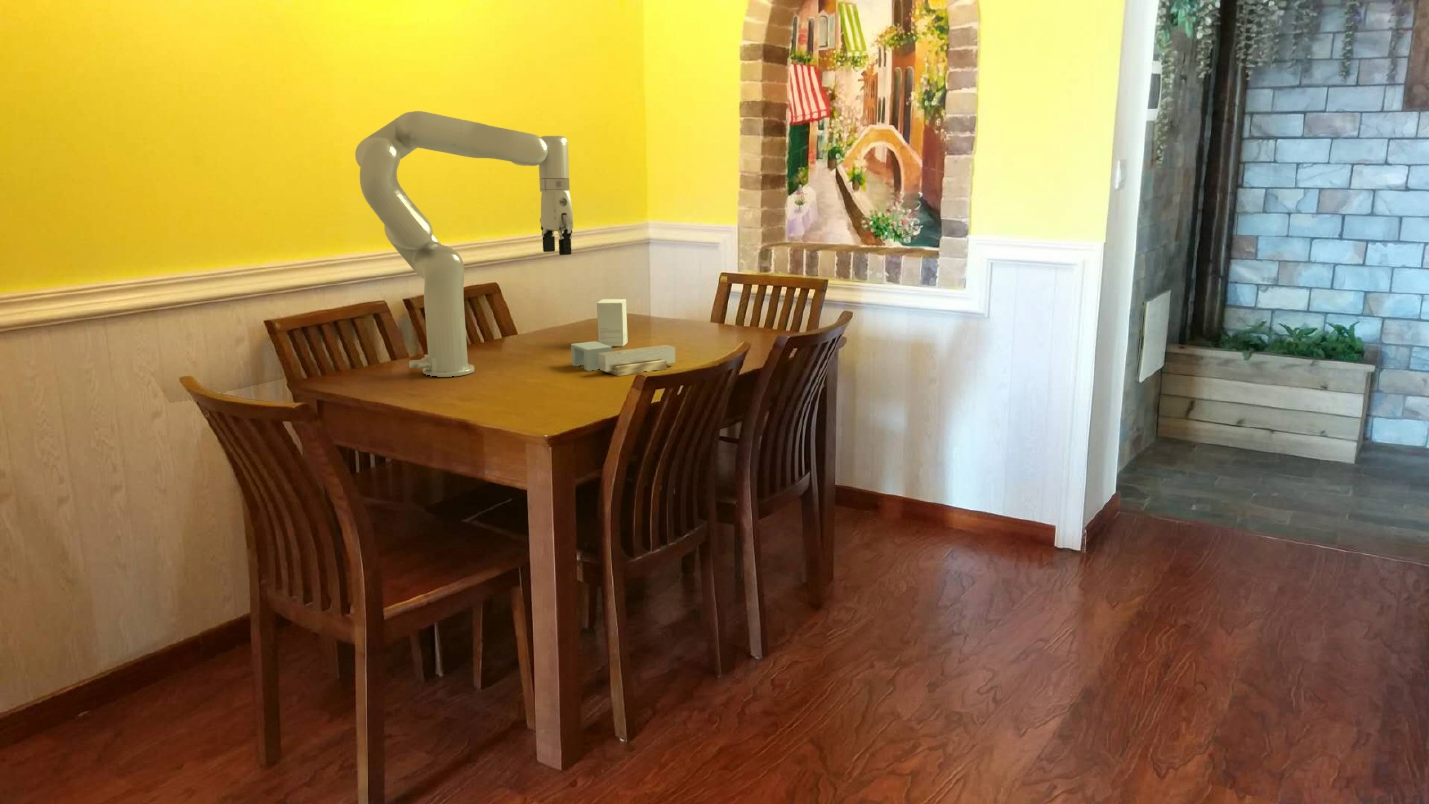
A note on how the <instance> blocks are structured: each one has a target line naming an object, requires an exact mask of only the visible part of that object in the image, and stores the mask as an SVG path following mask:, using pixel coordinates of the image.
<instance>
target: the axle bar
mask: <svg viewBox="0 0 1429 804" xmlns="http://www.w3.org/2000/svg"><path fill="white" fill-rule="evenodd" d="M660 360H666V364H672V363H673V364H674V363H676V347H675V346H672V345H670V344H662V345H655V346H654V345H653V346H646V347H638V348H630V349H629V348H628V349H622V350H612V351H611V352H603V353H598V369H600V370H601V371H602V372H603V371H604V372H606V373H608V372H607V371H614V370H615V366H622V365H630V364H637V363H645V362H652V361H660Z"/></svg>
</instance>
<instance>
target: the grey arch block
mask: <svg viewBox="0 0 1429 804" xmlns="http://www.w3.org/2000/svg"><path fill="white" fill-rule="evenodd" d="M611 351H613V346H608V345H605V344H602V343H599V341H587V342H577V343H576V342H575V343H571V344H570V355H571V357H570V358H571V366H573V367H579V366H580V365H581V366H584V370H585V371H586V370H587V371H586V372H592V370H594V371H599V370H598V353H603V352H611Z"/></svg>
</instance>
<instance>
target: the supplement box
mask: <svg viewBox="0 0 1429 804" xmlns="http://www.w3.org/2000/svg"><path fill="white" fill-rule="evenodd" d="M596 311H597V334H598V342H599V343H602V344H605V345H608V346H611V347H625V345H627V343H628V342H629V341H628V320H627V319H628V317H627V315H628V314H627V299H626V298H623V299H621V298H619V299H618V298H602V299H600V300H599V301H598V302H596Z"/></svg>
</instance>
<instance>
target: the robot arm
mask: <svg viewBox="0 0 1429 804" xmlns="http://www.w3.org/2000/svg"><path fill="white" fill-rule="evenodd" d="M416 149H424V150H428V151H434V152H440V153H445V154H450V155H456V156H460V157H467V158H473V159H494V160H499V161H506V162H511V163H512V164H514V165H516V166H523V167H524V166H525V167H526V166H530V167H536V166H538V177H539V181H538V182H539V192H541V195H540V196H541V198H540V218H539V223H540V230H541V236H542V251H543V252H544V253H550V252H555V251H556V241H555V240H556V238H555V235H554V233H555V232H557V234H558V236H559V239H558V253H559V256H568V255H572V234H573V229H574V216H573V215H574V214H573V206H572V205H573V204H572V200H571V199H572V197H571V194H570V193H571V192H570V168H569V167H570V165H569V163H570V161H569V160H570V159H569V143H568V139H567V138H566V137H565V136H563V135H542V136H539V135H537V134H535V133H528V132H523V131H518V130H514V129H508V128H504V127H498V126H493V125H488V124H485V123H482V122H476V121H472V120H471V121H470V120H467V119H461V118H456V117H452V116H446V115H442V114H437V113H433V112H427V111H422V110H421V111H420V110H413V111H408V112H404V113H402V114H400V115H399V116H398V117H396V118H394V119H393V120H392V121H390V122H389V123H387V124H386V125H384V126H383V127H381V128H380V129H378V130H376V131H375V132H373V133H371V134H370V135H369V136H367V137H365V138H364V139H362V140H361V141H360V142H359V143H358V144H357V147H356V149H355V152H354V153H355V154H354V156H355V160H356V164H357V165H358V167H359V168H360V169H359V185H360V189H361V193H362V195H363V197H364V199H365V201H366V203H367V204H368V206H370V208H371V210H372V211H373V212H374V213H375V214H376V215H377V217H378V219H379V220H380V221H381V222H382V223H383V225H384V233H385V235H386V238H387V239H388V241H389V242H390V244H391V246H393V247H394V249H395V250H396V251H397V253H399V255H400V256H401V257H402V258H403V259H404V261H405V262H406V263H407V264H408V265H409V266H410V268H411V269H412V270H413V272H415V273H416V274H417V275H418V276H420V277H421V278H422V279H424V288H423V302H424V303H423V306H424V314H425V315H424V317H425V330H426V345H427V354H424V355H423V356H424V357H422V358H421V359H412V360H408V366H409V368H410V369H422V374H423V373H424V374H426V375H425V376H427V375H430V376H429V377H432V376H437V377H436V378H452V376H454V377H460V376H465V375H469V374H472V373H474V372H475V365H473V364H470V363H468V360H469V359H468V349H467V348H468V346H467V332H466V318H465V317H466V316H465V314H466V313H465V301H464V299H465V298H464V297H465V296H464V295H465V294H464V291H465V290H464V289H465V288H464V286H465V285H464V284H465V264H464V261H463V259H462V257H461V255H460V254H459V252H457V251H456V250H455V249H453V248H452V247H450V246H448V245H444V244H441V242H440V241H439V240H438V238H437V237H436V235H434V234H433V231H434V230H433V228H432V227H433V226H432V224H431V222H430V221H429V219H428V218H427V217H426V216H425V215H424V214H423V212H421V210H420V209H419V208H418V207H417V205H416V204H415V203H414V202H413V201H412V199H411V198H410V197H409V196H408V194H407V193H406V191H404V189H403V188H402V187H401V185H400V183H399V181H398V176H397V175H398V168H399V165H400V162H401V160H402V159H403V158H405V157H407V156H408V155H409V154H411V153H412V152H413V151H415V150H416ZM424 374H423V375H424Z"/></svg>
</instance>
